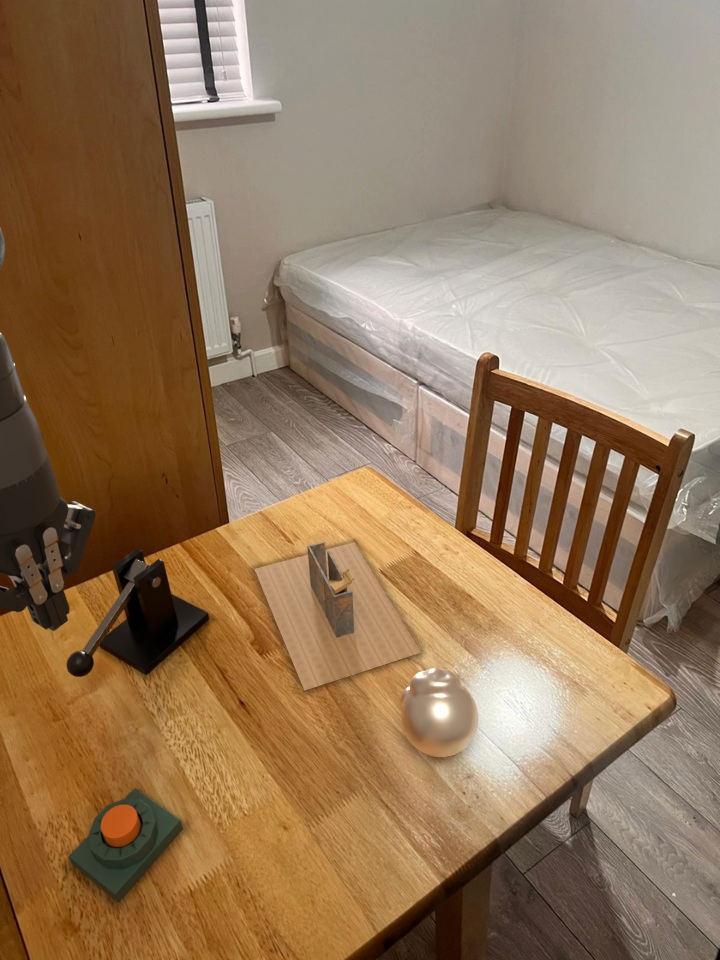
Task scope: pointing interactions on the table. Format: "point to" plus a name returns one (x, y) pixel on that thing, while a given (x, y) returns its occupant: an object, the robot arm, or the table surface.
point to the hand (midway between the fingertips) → (54, 622)
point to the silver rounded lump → (438, 713)
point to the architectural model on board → (333, 614)
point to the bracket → (150, 617)
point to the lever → (104, 625)
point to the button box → (126, 847)
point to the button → (120, 825)
